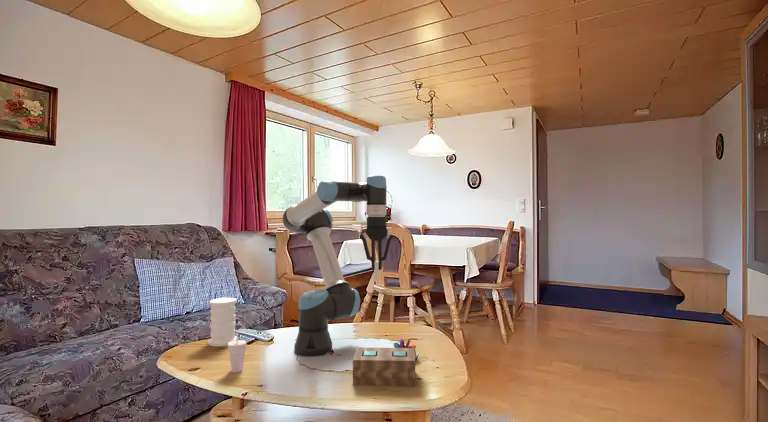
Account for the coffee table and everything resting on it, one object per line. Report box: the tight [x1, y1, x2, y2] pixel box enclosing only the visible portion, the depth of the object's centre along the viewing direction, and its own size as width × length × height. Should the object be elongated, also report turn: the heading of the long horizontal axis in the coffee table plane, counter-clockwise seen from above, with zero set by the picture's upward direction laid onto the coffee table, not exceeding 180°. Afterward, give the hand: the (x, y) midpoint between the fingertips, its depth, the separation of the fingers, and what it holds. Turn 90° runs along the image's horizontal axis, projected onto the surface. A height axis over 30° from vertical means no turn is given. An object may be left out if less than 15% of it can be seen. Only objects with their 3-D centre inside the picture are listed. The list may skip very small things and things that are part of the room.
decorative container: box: [208, 297, 237, 347], centre depth 169 cm, size 12×12×18 cm
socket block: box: [352, 347, 416, 387], centre depth 131 cm, size 20×12×8 cm, turn 88°
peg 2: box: [393, 351, 406, 357], centre depth 131 cm, size 4×4×8 cm
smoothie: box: [227, 330, 248, 373], centre depth 138 cm, size 6×6×14 cm
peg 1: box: [363, 351, 376, 356], centre depth 131 cm, size 4×4×8 cm
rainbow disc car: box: [393, 338, 417, 358], centre depth 149 cm, size 8×10×7 cm
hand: (376, 278), depth 149 cm, fingers closed
